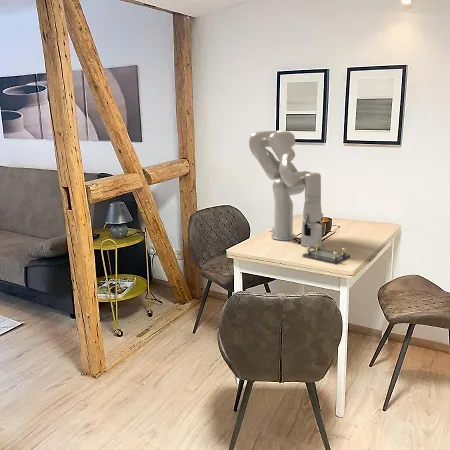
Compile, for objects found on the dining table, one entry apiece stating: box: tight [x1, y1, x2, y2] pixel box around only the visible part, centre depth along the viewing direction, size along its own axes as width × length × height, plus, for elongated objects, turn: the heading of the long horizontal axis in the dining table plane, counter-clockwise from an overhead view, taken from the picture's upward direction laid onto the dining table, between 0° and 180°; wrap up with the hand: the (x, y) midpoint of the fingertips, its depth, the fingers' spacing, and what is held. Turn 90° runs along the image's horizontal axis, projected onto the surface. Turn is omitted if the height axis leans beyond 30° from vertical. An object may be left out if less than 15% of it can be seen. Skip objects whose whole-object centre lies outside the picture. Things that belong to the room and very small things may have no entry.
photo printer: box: [300, 222, 323, 249], centre depth 230 cm, size 10×4×12 cm, turn 56°
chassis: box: [302, 243, 351, 265], centre depth 214 cm, size 17×13×4 cm
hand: (312, 233), depth 229 cm, fingers open, 9 cm apart
